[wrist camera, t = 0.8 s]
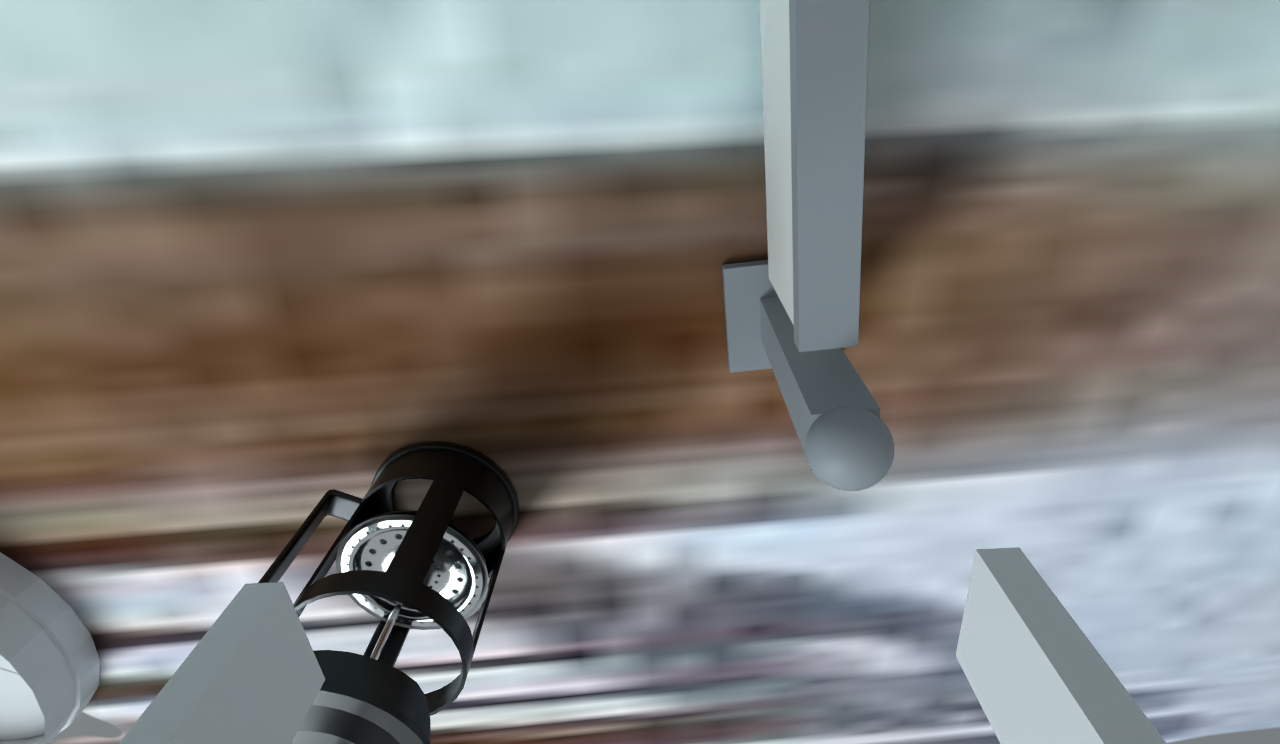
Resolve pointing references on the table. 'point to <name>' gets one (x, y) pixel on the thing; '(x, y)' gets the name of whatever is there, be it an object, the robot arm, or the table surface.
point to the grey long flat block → (815, 162)
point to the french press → (401, 589)
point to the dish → (40, 659)
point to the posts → (806, 383)
